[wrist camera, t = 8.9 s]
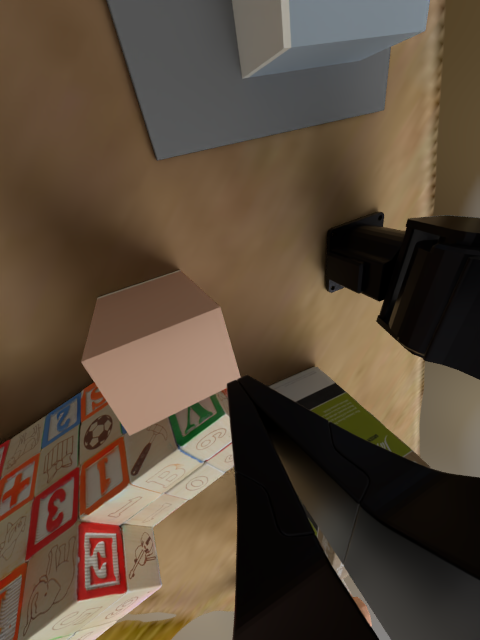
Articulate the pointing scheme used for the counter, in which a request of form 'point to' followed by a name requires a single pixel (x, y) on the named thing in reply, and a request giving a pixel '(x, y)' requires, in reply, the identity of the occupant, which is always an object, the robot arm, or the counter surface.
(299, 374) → the tea box
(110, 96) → the counter surface
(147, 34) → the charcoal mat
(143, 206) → the counter surface
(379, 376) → the counter surface
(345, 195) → the counter surface
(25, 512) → the stack of blocks
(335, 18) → the slate blue block
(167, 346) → the dusty pink block
